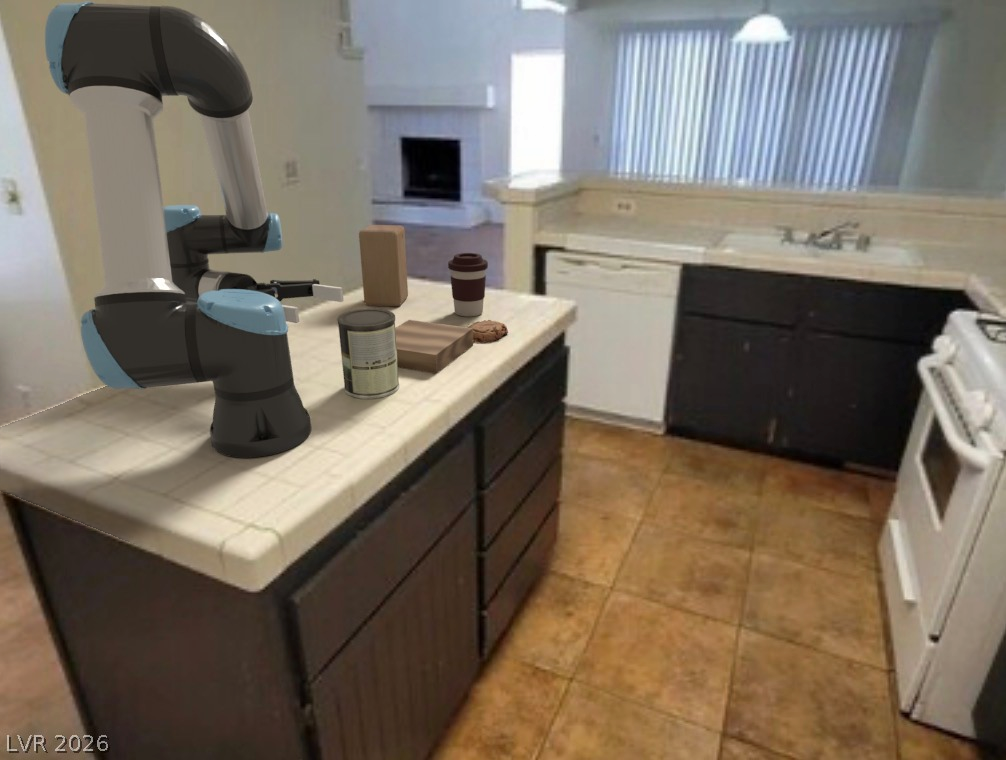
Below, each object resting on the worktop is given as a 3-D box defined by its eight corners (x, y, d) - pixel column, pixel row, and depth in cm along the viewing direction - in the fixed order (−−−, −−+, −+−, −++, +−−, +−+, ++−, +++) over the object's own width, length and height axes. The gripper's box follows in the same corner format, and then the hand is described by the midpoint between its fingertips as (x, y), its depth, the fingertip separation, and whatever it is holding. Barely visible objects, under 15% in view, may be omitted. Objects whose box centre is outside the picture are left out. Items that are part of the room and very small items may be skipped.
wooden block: (409, 297, 179) (405, 224, 171) (400, 307, 170) (395, 231, 162) (374, 296, 180) (368, 224, 172) (363, 306, 171) (357, 230, 163)
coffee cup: (443, 316, 163) (441, 258, 157) (457, 306, 172) (456, 250, 166) (480, 320, 160) (480, 260, 154) (492, 309, 169) (492, 252, 163)
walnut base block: (436, 373, 128) (435, 354, 126) (367, 362, 133) (366, 344, 132) (473, 345, 143) (472, 328, 142) (410, 336, 149) (409, 319, 147)
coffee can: (332, 391, 120) (324, 319, 114) (369, 373, 128) (364, 305, 122) (374, 404, 115) (368, 329, 109) (410, 384, 123) (406, 313, 117)
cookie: (466, 344, 145) (466, 331, 144) (465, 329, 155) (464, 317, 154) (510, 343, 146) (510, 330, 145) (506, 328, 156) (506, 316, 154)
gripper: (275, 293, 138) (359, 305, 131) (183, 329, 117) (278, 345, 110) (270, 258, 135) (356, 269, 128) (175, 289, 114) (272, 303, 107)
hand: (320, 304), depth 119 cm, fingers open, 13 cm apart
